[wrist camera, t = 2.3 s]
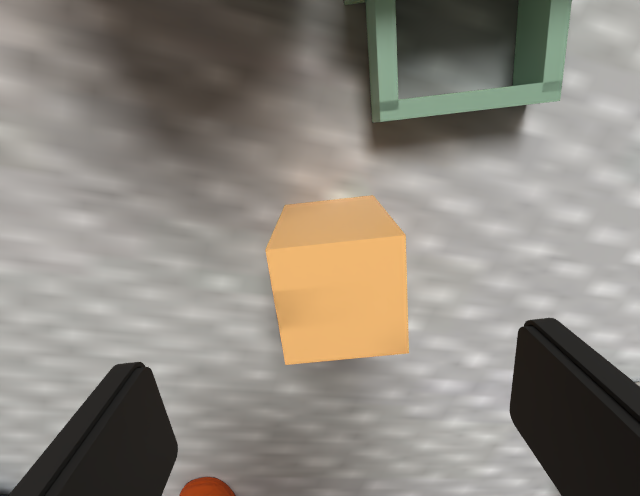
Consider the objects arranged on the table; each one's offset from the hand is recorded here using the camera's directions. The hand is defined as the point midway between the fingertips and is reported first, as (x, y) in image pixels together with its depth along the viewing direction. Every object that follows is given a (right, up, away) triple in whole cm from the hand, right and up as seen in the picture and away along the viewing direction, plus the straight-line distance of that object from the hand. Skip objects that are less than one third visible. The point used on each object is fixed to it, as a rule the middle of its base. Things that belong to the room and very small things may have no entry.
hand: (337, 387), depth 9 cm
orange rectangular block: (0, +5, +15) cm, 16 cm away
